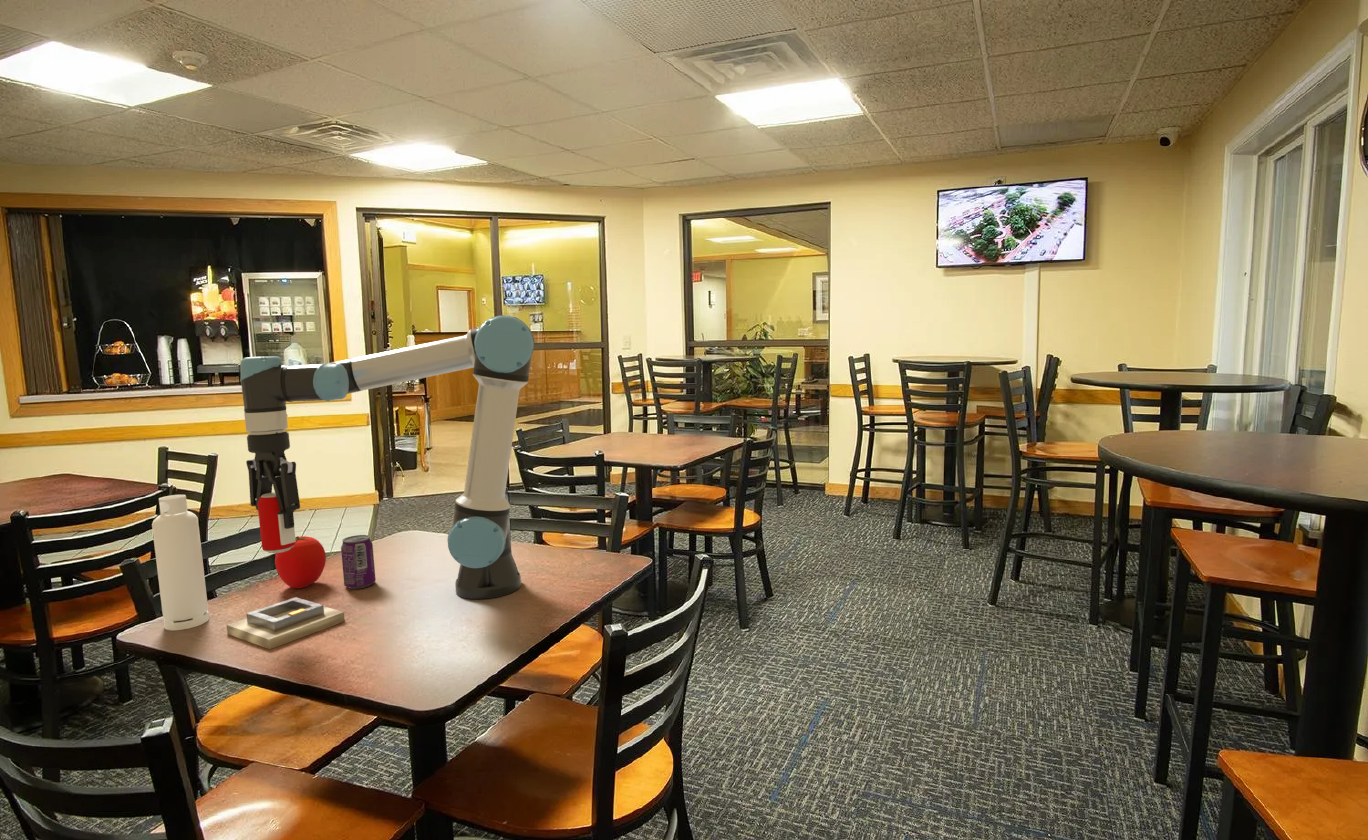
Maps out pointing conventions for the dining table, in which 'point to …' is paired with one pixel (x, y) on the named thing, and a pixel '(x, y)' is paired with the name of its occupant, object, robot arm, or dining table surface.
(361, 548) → the beverage can
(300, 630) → the hub board
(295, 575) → the tomato
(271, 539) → the beverage can
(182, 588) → the bottle
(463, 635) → the dining table surface
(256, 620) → the frame
